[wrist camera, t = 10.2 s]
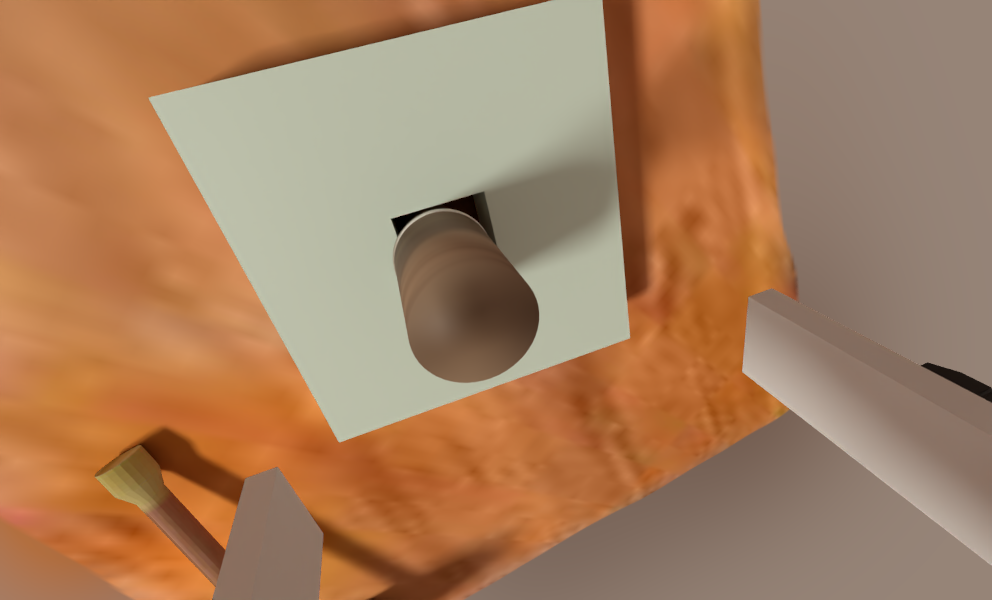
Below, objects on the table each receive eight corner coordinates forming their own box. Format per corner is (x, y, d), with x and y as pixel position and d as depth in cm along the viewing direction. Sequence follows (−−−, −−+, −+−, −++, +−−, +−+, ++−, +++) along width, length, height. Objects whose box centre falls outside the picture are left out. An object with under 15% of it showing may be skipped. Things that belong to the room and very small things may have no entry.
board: (182, 94, 21) (148, 97, 18) (566, 1, 24) (601, -12, 21) (341, 401, 31) (339, 442, 28) (602, 311, 34) (630, 338, 30)
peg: (375, 205, 26) (386, 290, 16) (461, 179, 27) (526, 244, 16) (404, 284, 29) (430, 401, 18) (482, 258, 29) (550, 357, 19)
